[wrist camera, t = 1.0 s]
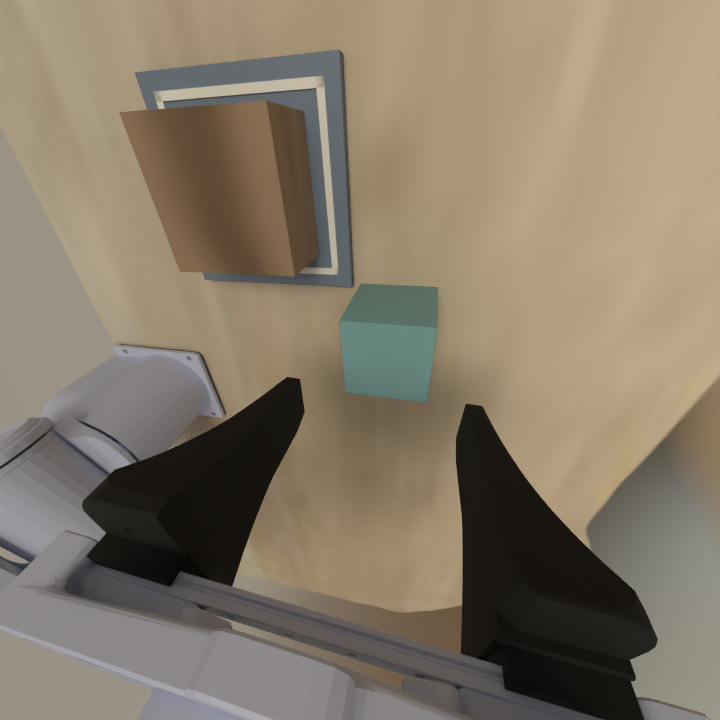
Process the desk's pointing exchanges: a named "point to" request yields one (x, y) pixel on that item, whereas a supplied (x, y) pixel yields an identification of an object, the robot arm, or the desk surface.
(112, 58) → the desk surface
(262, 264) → the walnut base block
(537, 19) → the desk surface
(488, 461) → the robot arm
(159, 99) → the mat
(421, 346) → the teal block
